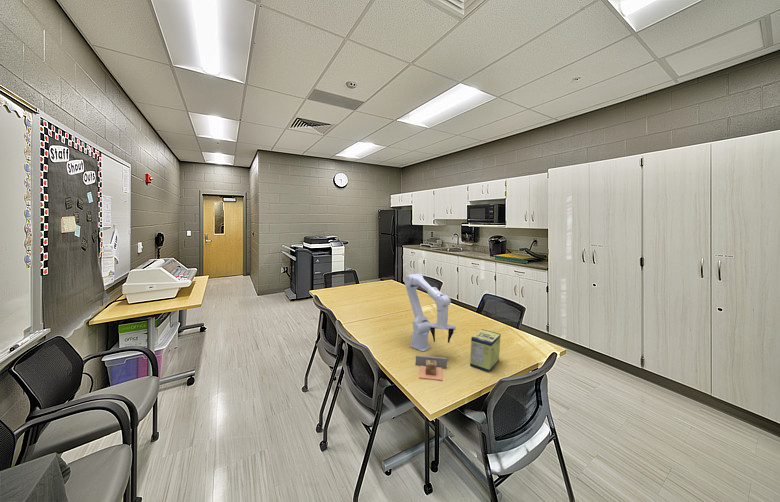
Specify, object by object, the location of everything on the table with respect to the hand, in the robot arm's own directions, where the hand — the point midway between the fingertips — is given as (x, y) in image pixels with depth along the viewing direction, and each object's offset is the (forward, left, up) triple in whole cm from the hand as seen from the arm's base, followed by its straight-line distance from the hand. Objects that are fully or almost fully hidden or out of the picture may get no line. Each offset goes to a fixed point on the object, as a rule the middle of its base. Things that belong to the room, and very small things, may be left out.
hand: (441, 341), depth 154 cm
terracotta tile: (+5, -17, -9) cm, 20 cm away
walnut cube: (+5, -17, -9) cm, 20 cm away
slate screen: (+1, -11, -9) cm, 15 cm away
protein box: (+20, +11, -10) cm, 25 cm away
